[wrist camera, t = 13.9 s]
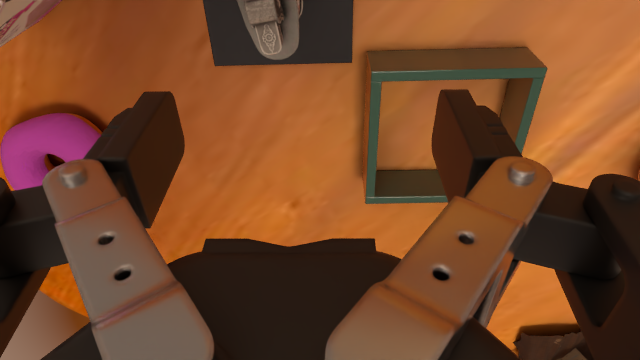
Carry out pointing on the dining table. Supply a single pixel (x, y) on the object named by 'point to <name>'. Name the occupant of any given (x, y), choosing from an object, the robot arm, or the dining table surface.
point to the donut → (44, 146)
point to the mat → (314, 34)
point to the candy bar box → (21, 16)
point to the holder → (443, 66)
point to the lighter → (273, 25)
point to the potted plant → (553, 347)
